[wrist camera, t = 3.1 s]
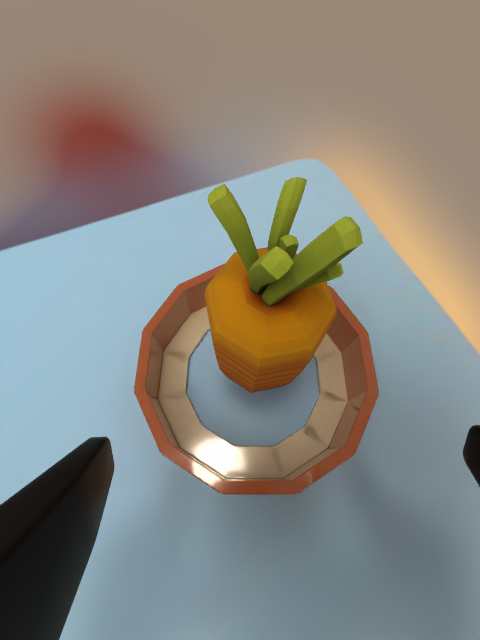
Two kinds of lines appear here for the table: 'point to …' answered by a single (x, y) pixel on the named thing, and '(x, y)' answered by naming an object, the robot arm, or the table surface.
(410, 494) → the table surface
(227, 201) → the carrot
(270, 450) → the brown round ring
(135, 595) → the table surface
